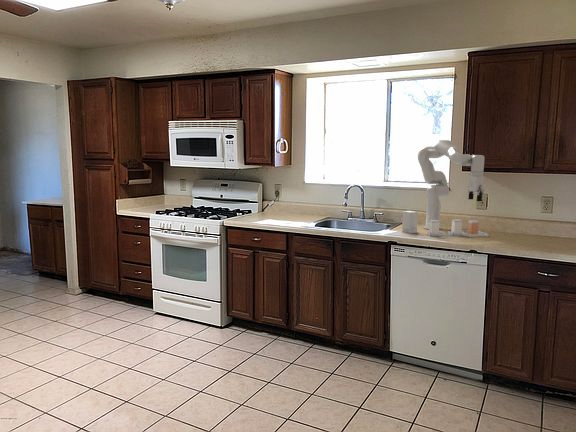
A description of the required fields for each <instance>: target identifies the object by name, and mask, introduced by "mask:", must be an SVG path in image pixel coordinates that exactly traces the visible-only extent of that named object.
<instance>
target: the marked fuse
mask: <svg viewBox="0 0 576 432" xmlns="http://www.w3.org/2000/svg"><path fill="white" fill-rule="evenodd" d="M479 224H480V223H479V220H468V224H467V230H468V233H467V234H478V231H479V227H480V226H479Z"/></svg>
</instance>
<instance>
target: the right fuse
mask: <svg viewBox="0 0 576 432" xmlns="http://www.w3.org/2000/svg"><path fill="white" fill-rule="evenodd" d="M462 228H463V219H459V218H458V219H451V228H450V229H451V231H453V232H454V233H453V235H454V236H460V235H461V232H462V231H463V229H462ZM451 231H450V232H451Z"/></svg>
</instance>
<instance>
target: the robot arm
mask: <svg viewBox="0 0 576 432" xmlns="http://www.w3.org/2000/svg"><path fill="white" fill-rule="evenodd" d="M458 149H459V148H457V146H455V144H454V142H453V141H452V140H448V139H447V140H445V139H440V140H436V142H435V143H434V144H433V145H431V146H430V145H429V146H428V145H427V146H422V147H421V148H420V149H418V153H417V160H418V163H419V165H420V168H421V172H422V174H423V175H422V176H423V179H424V181H425V183H426V184H427V185H429V186H428V187H427V188H426V190H425V194H426V215H425V216H426V218H425V225H424V226H423V229H425V230H426V229H427V230H429V220H438V221H439V231H440V230H442V226H440V223H441V207H442V206H441V200H440V199H442V198H443V199H445V198H446V197H448V196H449V195H450V188H449V183H448V180H447V177H446V175H445V173H444V172H443V171H442V170H441V171H440V170H435V167H434V164H433V162H432V161H431V160H430V159H439V158H441V157H443V156H445V157H447V158H448V159H449V161H450V162H452V163H453V164H456V165H458V166H460V167H461V166H462V167H465V166H466V167H470V176H469V180H468V186H467V191H468V192H467V193H468V197H467V198H468V200H474V194H475V192H476V194H477V196H476V202H482V201H483V194H484V191H485V188H484V169H485V155H481V154H472V155H470V153H469V154H467V153H466V154H465V153H464V154H463V153H460V152H458Z"/></svg>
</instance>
